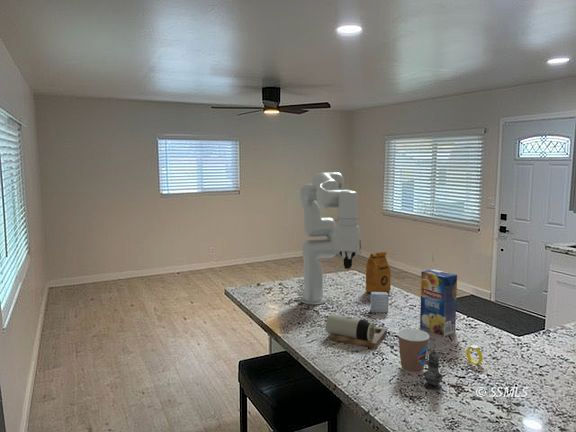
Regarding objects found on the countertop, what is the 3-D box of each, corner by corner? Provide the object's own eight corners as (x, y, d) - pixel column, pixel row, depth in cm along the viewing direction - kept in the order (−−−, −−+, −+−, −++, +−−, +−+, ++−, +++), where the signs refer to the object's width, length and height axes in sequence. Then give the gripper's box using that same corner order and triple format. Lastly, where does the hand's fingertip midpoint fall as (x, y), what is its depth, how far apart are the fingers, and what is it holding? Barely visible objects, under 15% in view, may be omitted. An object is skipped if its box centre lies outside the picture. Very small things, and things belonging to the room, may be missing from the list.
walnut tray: (329, 339, 168) (329, 334, 167) (343, 326, 182) (343, 321, 181) (375, 348, 159) (375, 343, 159) (386, 333, 173) (386, 329, 173)
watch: (464, 360, 149) (464, 344, 149) (470, 359, 150) (470, 342, 150) (478, 366, 144) (477, 349, 143) (484, 365, 145) (484, 348, 144)
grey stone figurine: (419, 381, 134) (420, 345, 133) (437, 381, 135) (439, 344, 133) (427, 391, 128) (428, 353, 127) (446, 390, 129) (447, 352, 127)
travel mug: (330, 335, 174) (372, 344, 165) (323, 330, 168) (366, 340, 159) (335, 316, 177) (376, 324, 168) (328, 311, 171) (370, 319, 162)
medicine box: (387, 309, 203) (387, 292, 202) (388, 312, 198) (388, 294, 197) (370, 309, 203) (370, 291, 202) (371, 312, 199) (371, 294, 198)
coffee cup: (423, 378, 136) (424, 342, 135) (392, 371, 141) (393, 336, 140) (431, 366, 145) (432, 332, 143) (401, 359, 150) (402, 326, 149)
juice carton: (455, 332, 174) (457, 275, 172) (443, 336, 170) (445, 277, 168) (431, 323, 184) (433, 269, 182) (419, 326, 180) (421, 271, 178)
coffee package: (393, 292, 230) (394, 252, 227) (374, 296, 224) (375, 255, 222) (381, 288, 239) (381, 249, 236) (363, 291, 233) (363, 251, 231)
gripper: (326, 222, 168) (326, 268, 170) (363, 224, 161) (362, 272, 163) (334, 220, 174) (334, 264, 176) (369, 222, 167) (368, 268, 169)
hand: (347, 268), depth 169 cm, fingers closed
